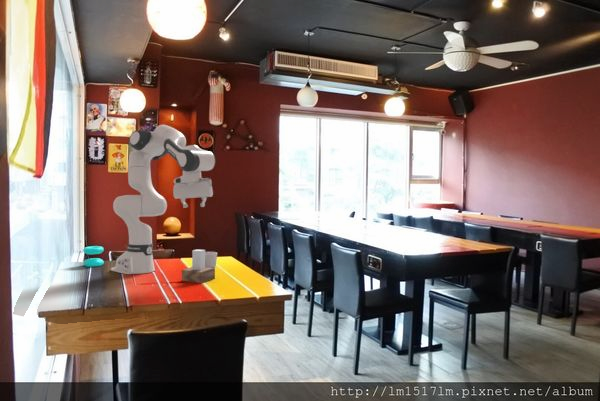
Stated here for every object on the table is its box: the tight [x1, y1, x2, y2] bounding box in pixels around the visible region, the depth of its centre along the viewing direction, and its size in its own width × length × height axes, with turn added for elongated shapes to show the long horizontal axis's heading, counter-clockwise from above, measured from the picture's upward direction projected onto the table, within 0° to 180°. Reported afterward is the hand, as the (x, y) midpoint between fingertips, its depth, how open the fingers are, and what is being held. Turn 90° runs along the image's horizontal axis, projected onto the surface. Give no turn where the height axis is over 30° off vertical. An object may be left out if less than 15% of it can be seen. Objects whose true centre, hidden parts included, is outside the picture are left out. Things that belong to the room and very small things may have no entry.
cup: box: [205, 251, 218, 268], centre depth 246 cm, size 11×8×8 cm
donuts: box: [82, 245, 104, 268], centre depth 246 cm, size 10×10×10 cm
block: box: [191, 249, 206, 270], centre depth 217 cm, size 4×4×9 cm
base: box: [181, 266, 216, 284], centre depth 218 cm, size 11×11×5 cm
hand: (194, 207), depth 223 cm, fingers open, 8 cm apart
